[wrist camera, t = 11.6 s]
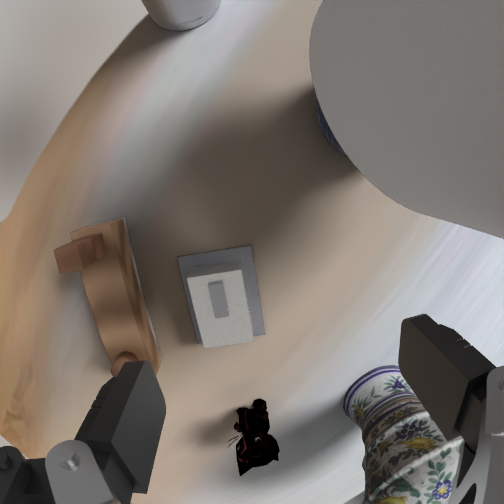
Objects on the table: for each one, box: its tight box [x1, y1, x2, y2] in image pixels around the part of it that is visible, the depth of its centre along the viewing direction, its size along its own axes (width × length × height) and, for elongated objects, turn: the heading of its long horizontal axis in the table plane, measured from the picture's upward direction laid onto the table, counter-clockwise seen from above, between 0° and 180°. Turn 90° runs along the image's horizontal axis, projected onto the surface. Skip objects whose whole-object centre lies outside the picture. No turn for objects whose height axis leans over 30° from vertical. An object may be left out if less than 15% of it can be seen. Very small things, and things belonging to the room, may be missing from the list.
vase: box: [343, 365, 464, 504], centre depth 31 cm, size 17×17×30 cm
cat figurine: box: [228, 399, 280, 476], centre depth 39 cm, size 7×7×12 cm
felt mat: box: [177, 245, 265, 344], centre depth 39 cm, size 12×9×1 cm
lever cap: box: [187, 260, 254, 348], centre depth 37 cm, size 9×6×5 cm, turn 9°
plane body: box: [54, 218, 163, 377], centre depth 34 cm, size 20×6×11 cm, turn 9°
